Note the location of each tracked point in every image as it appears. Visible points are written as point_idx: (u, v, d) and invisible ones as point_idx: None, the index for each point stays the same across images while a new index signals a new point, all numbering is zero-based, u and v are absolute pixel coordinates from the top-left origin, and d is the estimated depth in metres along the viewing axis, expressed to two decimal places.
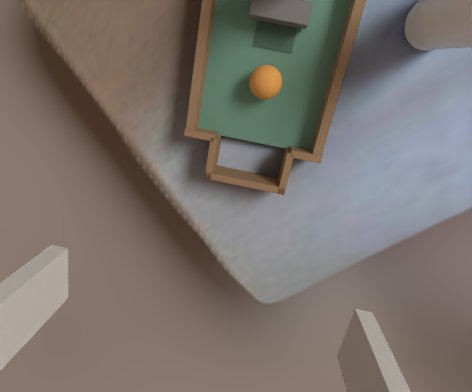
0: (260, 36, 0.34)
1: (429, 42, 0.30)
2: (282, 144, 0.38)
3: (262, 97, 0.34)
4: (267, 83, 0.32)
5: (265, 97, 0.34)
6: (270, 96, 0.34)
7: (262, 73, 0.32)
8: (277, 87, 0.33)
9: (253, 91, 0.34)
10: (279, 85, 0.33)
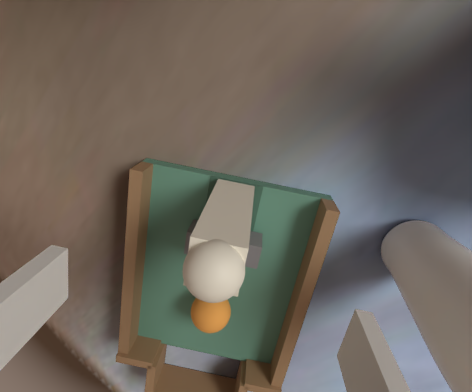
0: None
1: None
2: (237, 356, 0.32)
3: None
4: (209, 327, 0.26)
5: None
6: None
7: (203, 316, 0.26)
8: (223, 326, 0.27)
9: None
10: (226, 322, 0.27)
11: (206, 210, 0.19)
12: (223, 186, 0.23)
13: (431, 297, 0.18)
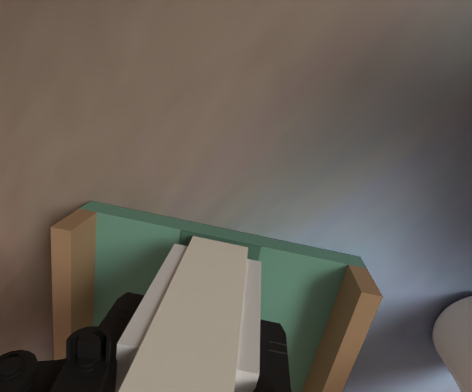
0: None
1: None
2: None
3: None
4: None
5: None
6: None
7: None
8: None
9: None
10: None
11: (157, 324, 0.10)
12: (198, 252, 0.15)
13: None
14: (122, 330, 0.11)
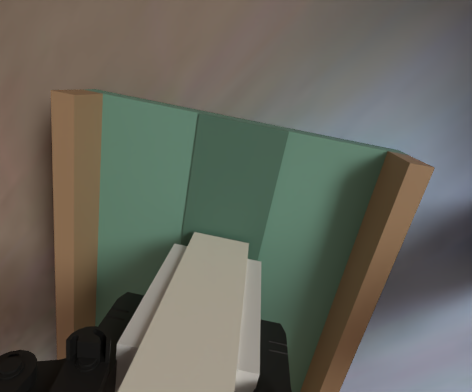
0: None
1: None
2: None
3: None
4: None
5: None
6: None
7: None
8: None
9: None
10: None
11: (160, 317, 0.11)
12: (200, 248, 0.15)
13: None
14: (122, 330, 0.11)
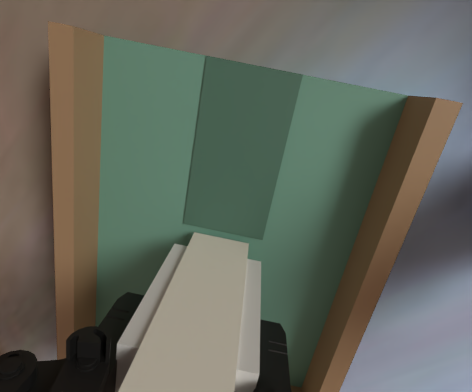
0: (198, 208, 0.16)
1: None
2: None
3: None
4: None
5: None
6: None
7: None
8: None
9: None
10: None
11: (159, 318, 0.11)
12: (199, 248, 0.15)
13: None
14: (122, 330, 0.11)
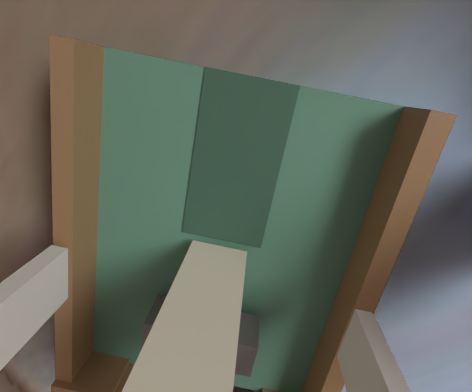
0: (196, 217, 0.17)
1: None
2: (248, 384, 0.20)
3: None
4: None
5: None
6: None
7: None
8: None
9: None
10: None
11: (158, 327, 0.11)
12: (198, 256, 0.15)
13: None
14: None
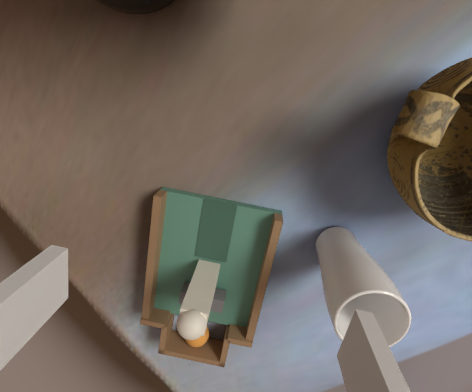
0: (200, 250, 0.42)
1: None
2: (223, 322, 0.46)
3: (194, 345, 0.44)
4: None
5: (196, 345, 0.44)
6: (200, 344, 0.45)
7: None
8: (205, 336, 0.45)
9: (187, 340, 0.45)
10: (206, 335, 0.45)
11: (189, 288, 0.36)
12: (201, 266, 0.41)
13: (327, 270, 0.32)
14: None
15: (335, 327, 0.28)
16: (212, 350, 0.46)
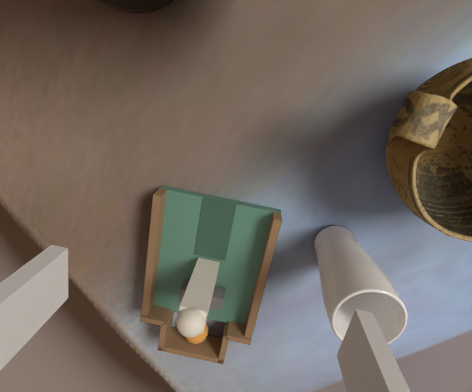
0: (199, 248, 0.42)
1: None
2: (222, 319, 0.46)
3: (193, 341, 0.45)
4: None
5: (195, 341, 0.45)
6: (199, 340, 0.45)
7: None
8: (204, 333, 0.45)
9: None
10: (206, 332, 0.46)
11: (189, 286, 0.36)
12: (200, 264, 0.41)
13: (325, 269, 0.33)
14: None
15: (332, 325, 0.28)
16: (211, 347, 0.47)
